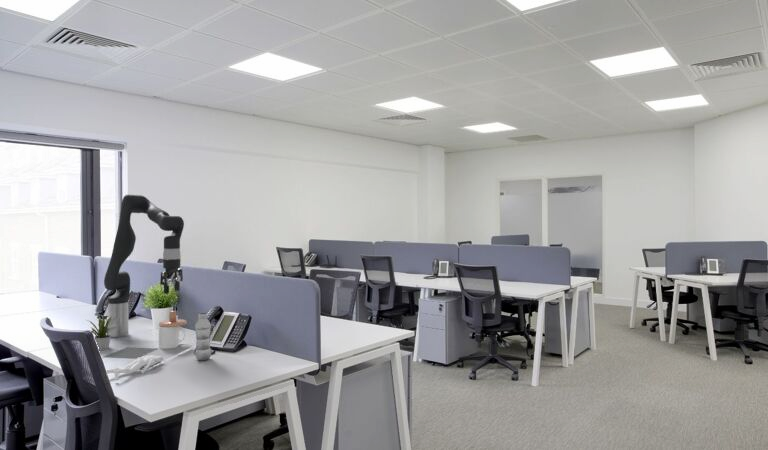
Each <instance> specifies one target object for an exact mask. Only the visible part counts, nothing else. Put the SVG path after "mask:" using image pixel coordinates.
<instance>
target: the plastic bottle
mask: <svg viewBox="0 0 768 450" xmlns="http://www.w3.org/2000/svg"><path fill="white" fill-rule="evenodd" d="M208 316H209V315H208V312H200V313H198V316H197V317H198V319H197V321H196V323H195V325H194V330H195V338H196V341H195V342H196V345H195V346H196V347H195V352H194V353H195V354H194V356H195V359H196V360H197V361H206V360H209V359H210V358H211V357H212V349H211V343H210V336H211V329H212V328H211V322H210V320H209V319H208Z"/></svg>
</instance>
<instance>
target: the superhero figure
mask: <svg viewBox="0 0 768 450" xmlns="http://www.w3.org/2000/svg"><path fill="white" fill-rule="evenodd" d="M163 360H164V357H163V356H162V355H151V354H150V355H145V356H141V357H139V358H137V359H135V360H133V362H131V363H128V364H126V365H125V366H122V367H121V368H119V367H113V368H109V369H105V370H106V371H107V374H106V375H108V374H114V380H115V381H118V380H119V375H120V374H127V375H129V374H132V373H135V372H138V371H139V370H140V372H141V374H143V375H144V373H146V371H147V370H148V369H149V368H150V367H151V366H155V365H156V364H157V363H158V364H160V363H162V362H163Z"/></svg>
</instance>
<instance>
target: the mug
mask: <svg viewBox="0 0 768 450" xmlns="http://www.w3.org/2000/svg"><path fill="white" fill-rule="evenodd" d="M179 331H182V332H183V336H182V337H181V338H180V335H179V334H180V333H179ZM185 334H186V333H185V329H184V328H183V327H182V326H178V327H160V326H159V325H158V349H164V350H169V349H173V348H174V349H175V348H177V347H179V344H180V343H181V342H183V341H184V339H185V337H186V335H185Z"/></svg>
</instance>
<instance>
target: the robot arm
mask: <svg viewBox="0 0 768 450" xmlns="http://www.w3.org/2000/svg"><path fill="white" fill-rule="evenodd" d="M122 197H123V198H122V200H121V204H120V212H119V219H118V225H117V230H116V234H115V237H114V238H115V239H114V242H113V247H112V253H111V256H110V260H109V263H108V266H107V269H106V272H105V275H104V279H103V284H104V288H105V289H106V290H107V291H115V290H116V291H115V293H114V294H113V295H110V296H109V297H108V298H107V304H108V306H107V311H108V312H107V314H108V315H107V317H106V320H105V323H106V322H107V321H108V320H109V318H110V317H112V316H113V317H112V318H111V320H112V321H111V323H112V322H113V323H112V324H111V323H110V322H109V323H110V324H109V325H108V327H107V328H108V329H109V328H111V329H109V330H110V331H107V332H108V334H107V333H106V335H111V338H119V337H121V338H122V337H126V336H128V335H129V298H130V294H131V277H130V274H129V272H127V271H125V270H124V271H121V268H122V265H124V263H125V261H126V260H127V259H128V258H129V257H130V256H131V255H132V253H133V251H134V249H135V245H136V241H137V237H136V234H135V231H134V228H133V226H132V224H131V216H132V214H146V215H147V218H148V219H149V220H150V221H151V222H152V223H155V224H156V225H157V226H158V227H159V228H160V229H161V230H162V231H167V232H171V234H170V235H167V236H164V237H163V254H162V266H163V267H162V268H164V269H165V271H160V280H159V281H160V285H161V286H163V294H165V295H167V294H170V284H171V282H172V281H173V282H174V291H175V292H178V291H180V289H181V288H180V287H181V284H180V283H181V282H183V280H184V276H183V268H181V238H182V235H183V231H184V227H185V222H184V219H183V218H182V217H181V216H179V215H170V214H169V213H168V212H167V211H165V210H163V209H161V208H159V207H158V206H156V205H155V204H154V203H153V202H152V201H150V200H149V198H147V197H146V196H144V195H142V194H140V195H139V194H127V193H126V194H125V195H124V196H122ZM116 317H118V318H116ZM114 318H115V319H114ZM113 319H114V320H113ZM114 321H115V322H114ZM109 326H110V327H109ZM116 326H117V327H116ZM112 327H113V328H114V327H115V328H114V329H113V328H112ZM116 328H117V329H116Z"/></svg>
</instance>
